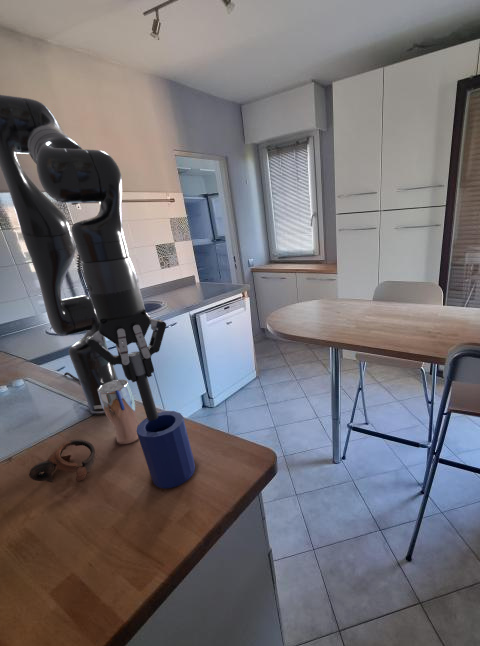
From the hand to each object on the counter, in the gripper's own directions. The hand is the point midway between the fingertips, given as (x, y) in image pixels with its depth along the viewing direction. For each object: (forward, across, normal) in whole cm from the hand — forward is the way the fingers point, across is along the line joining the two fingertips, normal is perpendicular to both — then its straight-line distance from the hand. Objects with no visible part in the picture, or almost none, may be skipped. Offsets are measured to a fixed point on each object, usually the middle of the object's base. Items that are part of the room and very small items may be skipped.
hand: (141, 377), depth 63 cm
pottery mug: (+24, +17, -16) cm, 33 cm away
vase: (+24, -1, 0) cm, 24 cm away
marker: (+9, 0, 0) cm, 9 cm away
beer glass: (+24, +3, -21) cm, 32 cm away
